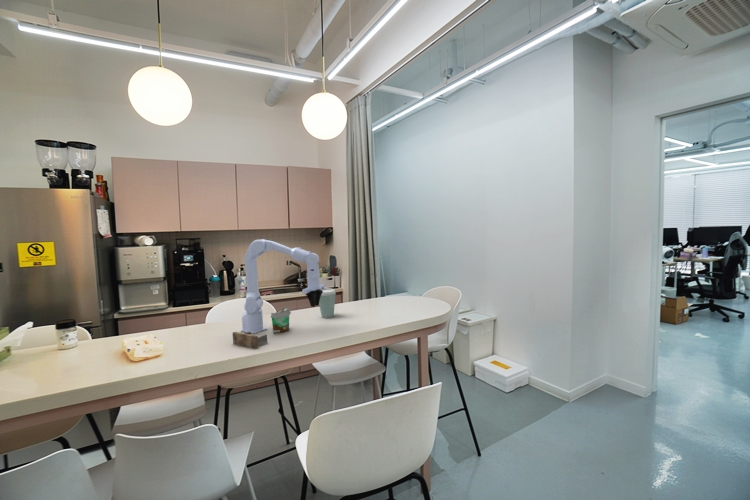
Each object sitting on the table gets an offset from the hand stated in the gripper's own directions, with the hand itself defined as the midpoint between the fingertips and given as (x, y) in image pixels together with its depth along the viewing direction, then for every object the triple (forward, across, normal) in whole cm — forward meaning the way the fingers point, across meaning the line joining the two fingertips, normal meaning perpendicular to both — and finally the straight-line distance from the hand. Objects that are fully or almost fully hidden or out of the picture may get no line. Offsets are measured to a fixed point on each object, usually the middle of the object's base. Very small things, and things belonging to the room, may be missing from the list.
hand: (314, 305), depth 161 cm
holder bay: (+10, -30, +10) cm, 33 cm away
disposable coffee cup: (+11, +18, +7) cm, 22 cm away
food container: (+11, -11, +10) cm, 18 cm away
